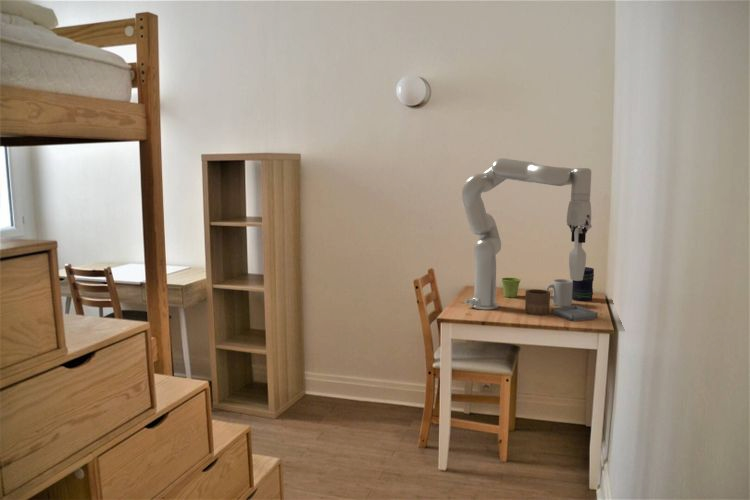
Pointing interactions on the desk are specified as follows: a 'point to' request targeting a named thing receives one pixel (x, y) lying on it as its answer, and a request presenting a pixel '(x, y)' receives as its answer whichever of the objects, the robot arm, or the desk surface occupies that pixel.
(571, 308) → the tray
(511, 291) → the plant pot
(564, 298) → the mug
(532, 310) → the holder
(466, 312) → the desk surface
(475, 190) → the robot arm
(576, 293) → the storage jar
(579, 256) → the faceted bottle
